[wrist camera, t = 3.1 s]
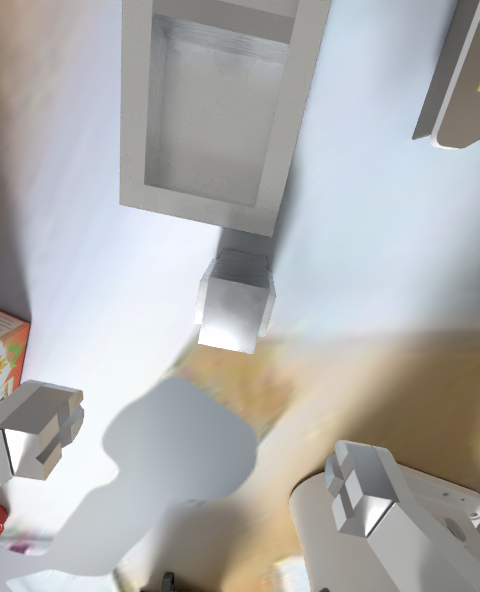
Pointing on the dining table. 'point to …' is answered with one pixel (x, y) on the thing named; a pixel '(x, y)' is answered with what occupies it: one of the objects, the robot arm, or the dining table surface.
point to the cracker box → (11, 352)
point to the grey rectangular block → (235, 301)
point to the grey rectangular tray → (214, 105)
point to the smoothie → (2, 519)
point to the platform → (455, 85)
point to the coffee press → (168, 583)
